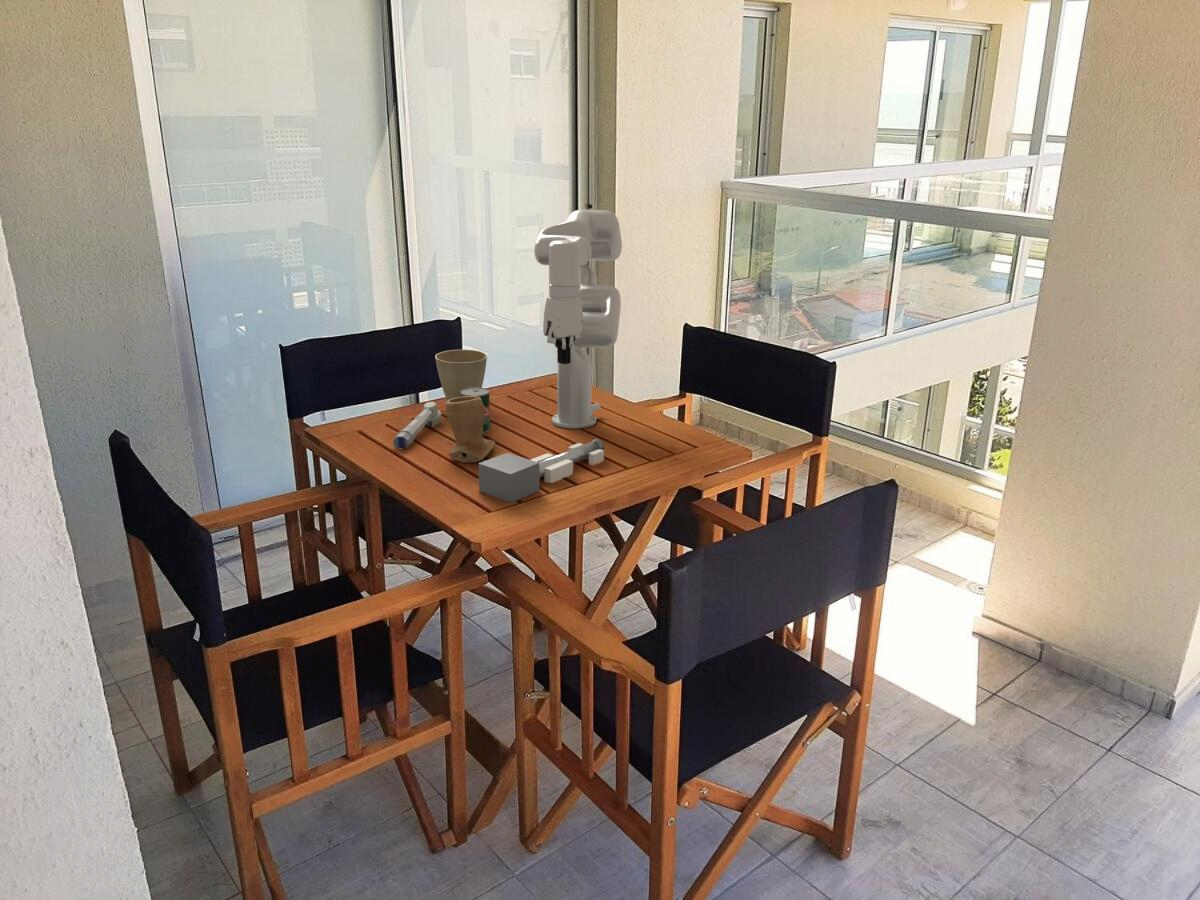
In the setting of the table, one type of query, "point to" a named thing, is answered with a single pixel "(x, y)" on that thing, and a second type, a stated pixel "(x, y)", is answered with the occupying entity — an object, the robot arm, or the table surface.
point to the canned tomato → (484, 396)
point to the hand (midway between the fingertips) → (563, 362)
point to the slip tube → (572, 455)
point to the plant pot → (460, 370)
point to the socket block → (508, 477)
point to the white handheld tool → (418, 425)
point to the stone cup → (468, 429)
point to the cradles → (566, 464)
